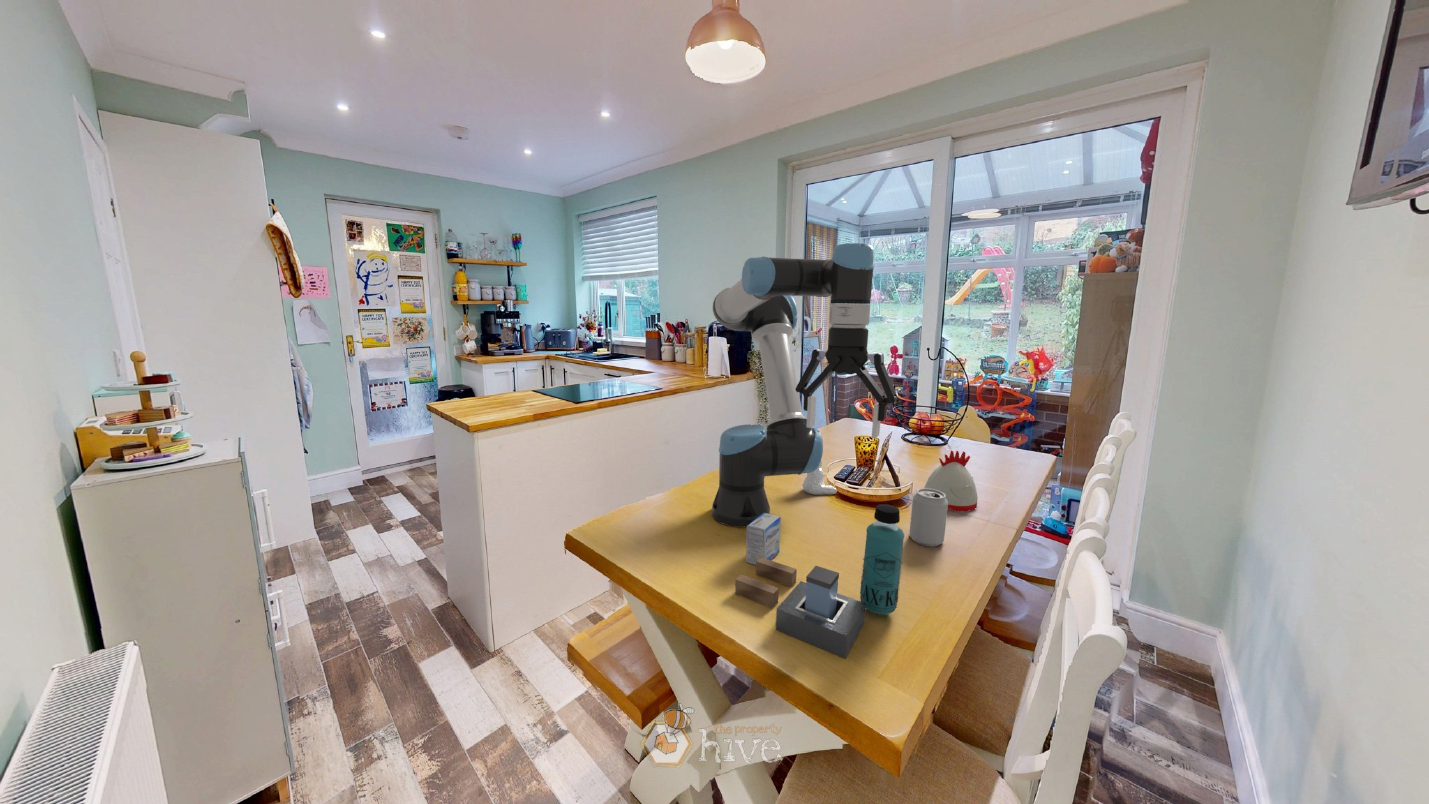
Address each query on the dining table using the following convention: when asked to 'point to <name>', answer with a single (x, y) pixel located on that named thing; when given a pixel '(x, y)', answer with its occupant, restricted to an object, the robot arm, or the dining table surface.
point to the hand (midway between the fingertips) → (841, 431)
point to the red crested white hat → (954, 482)
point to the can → (928, 517)
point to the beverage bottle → (882, 561)
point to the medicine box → (763, 538)
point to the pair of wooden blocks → (761, 590)
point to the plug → (822, 592)
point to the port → (821, 622)
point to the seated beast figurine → (817, 483)
